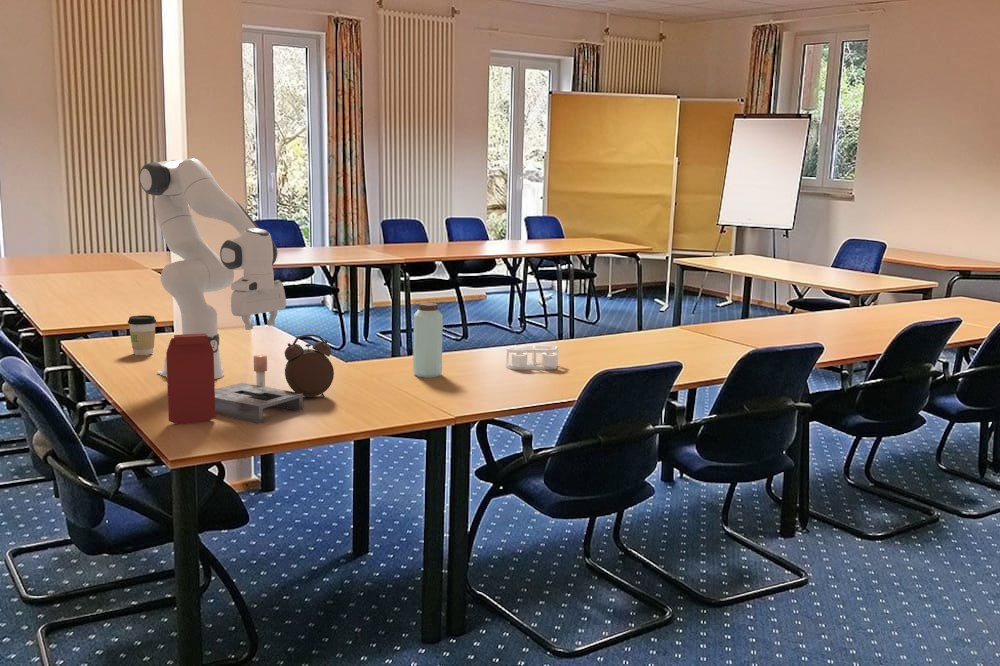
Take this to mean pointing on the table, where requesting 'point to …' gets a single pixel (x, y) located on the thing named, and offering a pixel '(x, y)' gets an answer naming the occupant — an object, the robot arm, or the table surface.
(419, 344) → the water bottle
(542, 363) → the white double holder
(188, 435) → the table surface
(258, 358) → the peg
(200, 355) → the carton
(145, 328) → the coffee cup
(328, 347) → the alarm clock
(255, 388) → the keyhole board
